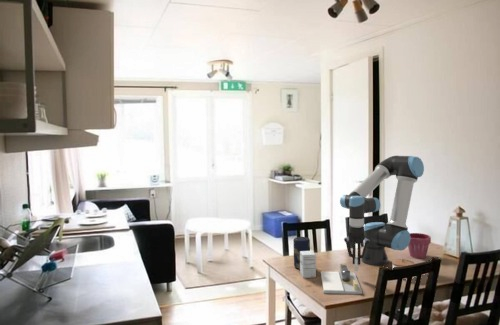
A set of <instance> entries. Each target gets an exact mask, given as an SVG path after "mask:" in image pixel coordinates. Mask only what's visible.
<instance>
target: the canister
mask: <svg viewBox="0 0 500 325" xmlns="http://www.w3.org/2000/svg"><path fill="white" fill-rule="evenodd" d="M300 251H311V241H310V238H309V237H306V236H297V237H294V238H293V265H294V267H295V268H296V269H299V270H300Z"/></svg>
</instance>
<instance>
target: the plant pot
mask: <svg viewBox="0 0 500 325" xmlns="http://www.w3.org/2000/svg"><path fill="white" fill-rule="evenodd" d="M409 233H410V236H411V239H410V243H409V245H408V246H407V248H408V252H409V257H411V258H414V259H425V258H426V257H427V254H428V250H429V246H430V244H431V243H432V242H431V241H432V237H431V235H429V234H425V233H421V232H412V233H411V232H409Z"/></svg>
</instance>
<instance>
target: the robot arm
mask: <svg viewBox="0 0 500 325" xmlns="http://www.w3.org/2000/svg"><path fill="white" fill-rule="evenodd" d="M424 172H425V165H424V162H423V161H422V159H421V158H420V157H419V156H413V155H392V156H389V157H388V158H385V159H384V160H382V161H380V162H379V163H378V164H377V165H376V166H375V167H374V170H373V171H372V172H371V173H370V174H369V175H368V176H367V177H366V178H365V179H363V181H362V182H361V183H360V184H358V185H357V187H355V188H354V190H352V191H351V192H350V193H349V194H343V195H342V196H341V197H340V200H339V203H340V207H342V208H343V209H347V210H348V212H349V214H348V215H349V217H348V218H349V220H348V222H349V227H348V236H347V237H344V239H343V241H344V242H345V245H346V250H347V253H348V256H349V257H350V258H352V265H354V272H358V271H359V266H360V265H361V262H362V263H364V264H367V265H370V266H371V265H372V266H382V265H386V264H388V263H389V259H388V255H387V252H386V249H387V248H388V249H391V250H394V251H400V252H401V251H404V250H405V249H407V248H408V245H409V243H410V239H411V236H410V233H411V232H409V230H408V228H409V227H408V226H407V219H408V215H409V209H410V205H411V204H410V203H411V200H412V199H411V198H412V194H413V188H414V184H415V183H417V182H418V178H420V177H422V176H423V175H424ZM392 176H395V179H397V183H396V190H395V193H394V199H393V203H392V209H391V212H390V213H391V215H390V218H389V221H388V222H387V223H385V222H380V221H379V222H378V221H375V222H368V223H366V224H365V214H368V213H375V212H378V211H379V210H380V209H381V200H380V199H379V198H377V197H368V196H369V195H370V194H371V193H372V192H373V191H374V190H375V189H376V188H377V187H378V186H379V185H380V184H382V182H383V181H384V180H386V179H389V178H390V177H392ZM350 242H351V243H352V249H351V245H350ZM362 243H364V244H363V245H364V246H363V249H362V252H361V248H362V247H361V245H362ZM356 244H357V246H356ZM356 247H357V257H356ZM385 248H386V249H385Z"/></svg>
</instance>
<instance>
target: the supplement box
mask: <svg viewBox="0 0 500 325" xmlns="http://www.w3.org/2000/svg"><path fill="white" fill-rule="evenodd" d="M316 258H317V256H316V253H315V252H314V251H313V250H310V251H300V269H299V274H300V275H301V277H302V279H303V278H304V279H306V278H309V279H310V278H316V277H317V261H316V260H317V259H316Z"/></svg>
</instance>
